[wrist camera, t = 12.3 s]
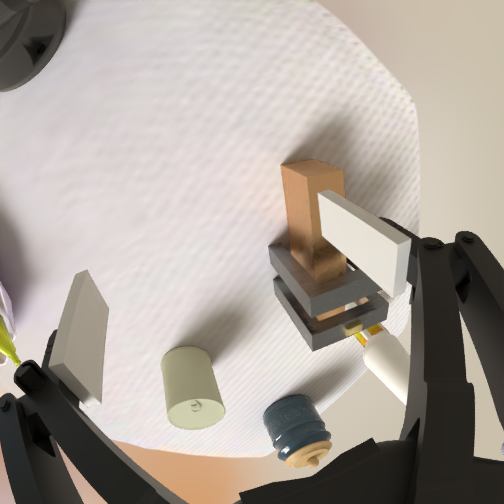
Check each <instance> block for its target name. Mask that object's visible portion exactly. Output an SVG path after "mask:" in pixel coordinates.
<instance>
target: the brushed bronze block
mask: <svg viewBox="0 0 504 504" xmlns="http://www.w3.org/2000/svg"><path fill="white" fill-rule="evenodd" d="M281 173H282V180H283V188H284V196H285V204H286V212H287V220H288V229H289V238H290V247H291V254H292V256H293V257H294V258H295V259H296V260H297V261H298V262H299V263H300V264H301V265H302V266H303V268H304V269H305V270H306V271H307V272H308V273H309V274H310V275H311V276H312V277H313V279H314V280H315V281H316V282H317V283H321V282H324V281H327V280H330V279H333V278H335V277H338V276H341V275H344V274H346V256H345V255H344V254H343V253H342V252H340V251H339V250H338V249H337V248H336V247H335V246H333V245H332V244H331V243H330V242H329V241H328V240H326V239H325V238H324V237H323V236H322V230H321V220H320V210H319V201H318V193H319V192H322V191H325V190H331V191H333V192H335V193H337V194H338V195H340V196H342V197H344V198H345V187H344V170H342V169H340V168H337V167H334V166H331V165H329V164H326V163H323V162H320V161H317V160H314V159H310V160H305V161H299V162H294V163H289V164H284V165H281ZM343 311H345V305H344V306H342V307H339V308H337V309H334V310H332V311H329V312H326V313H324V314H321V315H318V316H316V317H317V319H318V320H319V321H320V320H323V319H326V318H328V317H331V316H333V315H336V314H338V313H341V312H343Z"/></svg>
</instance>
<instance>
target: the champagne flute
mask: <svg viewBox="0 0 504 504" xmlns="http://www.w3.org/2000/svg"><path fill="white" fill-rule="evenodd" d="M353 307H356V304H355V303H354V302H352V303H349V304H347V305H345V311H346V310H348V309H351V308H353ZM360 333H361V334H362V335H363V336H364V338H365V339H366V340H367V341H366V344H365V348H364V352H363V359H364V363H365V364H366V366H367V367H368V368H369V369H370V370H371V371H372V372H373V373H375V375H376V376H377V377H378V378H379V379H380V380H381V381H382V382H384V384H385V385H386V386H387V387H388V388H389V389H390V390H391V391H392V392H393V393H394V394H395V395H396V396H397V397H398V398H399V399H400V400H401V401H402V402H403V403H404V404H405V405H406V404H407V395H408V384H409V372H410V355H409V354H408V353H407V351H406V350H405V349H404V347H403V346H402V345H401V343H400V342H399V341H398V339H397V338H396V337H395V336H394V335H392V334H385V333H382V334H377V335H373V336H372V335H371V334H370V333H369V332H368V331H367V330H366V329H365V330H363V331H361V332H360Z"/></svg>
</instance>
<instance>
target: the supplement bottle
mask: <svg viewBox="0 0 504 504" xmlns="http://www.w3.org/2000/svg"><path fill="white" fill-rule="evenodd" d="M366 330H367V331H368V332H369V333H370V334H371V335H372V336H373V335H377V334H382V333H385V334H390V333H389V332H388V331H387V329H386V328H385V327H384V326H383V325H382V324H381V323H378V324H376V325H374V326H372V327H369V328H367V329H366ZM354 336H355V337H356V338H357V340H358V341H359V342H360V343H361V344H362V345H363V347H364V348H365V344H366V341H367V340H366V339H365V338H364V336H363V335H362V334H361V333H360V332H358V333H356V334H354Z"/></svg>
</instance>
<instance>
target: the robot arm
mask: <svg viewBox="0 0 504 504" xmlns="http://www.w3.org/2000/svg"><path fill="white" fill-rule="evenodd" d="M65 23H66V13H65V8H64V5H63V3H62V1H61V0H0V92H6V91H10V90H14V89H16V88H18V87H20V86H22V85H24V84H25V83H27V82H28V81H30V80H31V79H32V78H34V77H35V76H36V75H37V74H38V73H39V72H40V71H41V70H42V69H43V68H44V67H45V66H46V64H47V63H48V62H49V60H50V59H51V58H52V56H53V55H54V53H55V51H56V49H57V48H58V46H59V43H60V41H61V39H62V36H63V33H64V29H65ZM318 201H319V210H320V220H321V230H322V236H323V237H324V238H325V239H326V240H328V241H329V242H330V243H331V244H332V245H333V246H335V247H336V248H337V249H338V250H339V251H340V252H342V253H343V254H344V255H345V256H346V257H347V258H348V259H350V260H351V261H352V262H353V263H354V264H355V265H356V266H358V267H359V268H360V269H361V270H362V271H363V272H364V273H365V274H366V275H368V276H369V277H370V278H371V279H372V280H373V281H374V282H375V283H376V284H378V285H379V286H380V287H381V288H382V289H383V290H384V291H385V292H386V293H387V294H388V295H389V296H391V297H392V298H394V297H396V296H398V295H400V294H402V293H404V292H405V289H406V282H407V281H408V282H409V283H410V284H411V285H412V289H411V295H410V301H409V304H411V309H412V310H411V315H412V317H411V355H410V372H409V384H408V395H407V404H406V412H405V419H404V424H403V428H402V431H401V435H400V438H399V440H393V441H384V442H378V443H375V441H374V440H373V438H370V439H368V440H367V441H365V442H363V443H361V444H360V445H357V446H356V447H354V448H352V449H350V450H348V451H346V452H344V453H342V454H340V455H339V456H338V457H337V458H336V459H334V460H333V461H332V462H330V463H329V464H328V465H327V466H325V467H324V468H323V469H321V470H320V471H319V472H317V473H316V474H314V475H313V476H311V477H306V478H300V479H294V480H287V481H279V482H272V483H269V484H266V485H263V486H260V487H257V488H254V489H251V490H247V491H244V492H241V493H239V495H240V498H241V500H239V501H237V502H235V503H234V504H504V461H498V460H492V459H486V458H480V457H475V456H474V438H475V394H474V386H473V384H472V383H468V382H467V379H466V367H465V354H464V344H463V335H462V327H461V320H460V313H461V315H462V317H463V320H464V322H465V324H466V327H467V329H468V331H469V333H470V336H471V339H472V341H473V344H474V346H475V349H476V351H477V354H478V356H479V359H480V362H481V365H482V367H483V370H484V373H485V376H486V379H487V382H488V385H489V388H490V391H491V395H492V398H493V401H494V405H495V408H496V411H497V414H498V418H499V421H500V423H501V425H502V427H503V430H504V269H503V268H502V267H501V265H500V264H499V262H498V261H497V260H496V259H495V257H494V256H493V254H492V253H491V252H490V250H489V249H488V248H487V246H486V245H485V244H484V243H483V241H482V240H481V239H480V238H479V237H478V236H477V235H476V234H474V233H472V232H469V231H461V232H458V233H457V234H456V236H455V242H453V243H448V244H444V243H443V242H442V241H441V240H439V239H436V238H431V237H426V238H422V239H421V238H419V237H418V236H416V235H414V234H413V233H411V232H410V231H408V230H406V229H405V228H403V227H402V226H400V225H398V224H397V223H395V222H393V221H392V220H390V219H386V218H383V217H380V218H377V217H376V216H374V215H373V214H371V213H369V212H368V211H366V210H364V209H363V208H361V207H359V206H357V205H356V204H354V203H352V202H351V201H349V200H347V199H345V198H344V197H342V196H340V195H338V194H337V193H335V192H333V191H331V190H325V191H322V192H319V193H318ZM459 311H460V313H459ZM108 314H109V308H108V306H107V304H106V303H105V301H104V299H103V298H102V296H101V294H100V292H99V290H98V289H97V287H96V285H95V283H94V281H93V280H92V278H91V276H90V274H89V272H88V270H85V271H82V272H80V273H77V274H76V275H75V277H74V280H73V283H72V286H71V289H70V292H69V295H68V298H67V301H66V304H65V307H64V310H63V313H62V317H61V320H60V323H59V327H58V329H56V330H54V331H53V333H52V334H51V336H50V338H49V340H48V344H47V348H46V351H45V355H44V359H43V363H42V367H41V368H40V367H39V366H38V364H37V363H36V362H35V361H33V360H27V361H25V362H23V363H22V364H21V365H20V366H19V367H18V368H17V370H16V372H15V374H14V383H15V384H16V385H17V386H18V387H19V388H20V389H21V390H22V391H23V392H24V393H25V395H23V396H22V397H20V398H18V399H17V398H16V397H15V396H14V395H13V394H11V393H6V394H4V395H3V396H2V397H0V443H1V449H2V454H3V458H4V463H5V467H6V471H7V475H8V479H9V482H10V486H11V489H12V493H13V496H14V499H15V502H16V504H84V503H83V501H82V499H81V497H80V495H79V493H78V491H77V489H76V487H75V485H74V483H73V481H72V479H71V477H70V474H69V472H68V470H67V468H66V465H65V463H64V461H63V458H62V456H61V453H60V451H59V448H58V446H57V443H58V445H59V446H60V447H61V449H62V450H63V451H64V453H65V454H66V455H67V457H68V458H69V459H70V461H71V462H72V463H73V464H74V466H75V467H76V468H77V469H78V471H79V472H80V473H81V474H82V475H83V477H84V478H85V479H86V480H87V481H88V482H89V484H90V485H91V486H92V487H93V488H94V489H95V490H96V491H97V493H98V494H99V495H100V496H101V497H102V498H103V499H104V500H105V501H106V502H107V503H108V504H189V503H187V502H186V501H184V500H183V499H181V498H180V497H178V496H177V495H176V494H174V493H173V492H171V491H170V490H169V489H167V488H166V487H165V486H163V485H162V484H161V483H160V482H158V481H157V480H155V479H154V478H153V477H152V476H151V475H149V474H148V473H147V472H146V471H145V470H143V469H142V468H141V467H140V466H138V465H137V464H136V463H135V462H134V461H133V460H132V459H131V458H129V457H128V456H127V455H126V454H125V453H124V452H123V451H122V450H121V449H119V448H118V447H117V446H116V445H115V444H114V443H113V442H112V441H111V440H110V439H109V438H108V437H107V436H106V435H105V434H104V433H103V432H102V431H101V430H100V429H99V428H98V427H97V426H96V425H95V424H94V423H93V422H92V421H91V419H90V418H89V417H88V416H87V415H86V414H85V413H84V412H83V411H82V410H81V409H80V408H79V400H80V401H81V402H82V403H83V404H84V405H85V406H86V407H92V406H97V405H102V381H103V364H104V351H105V340H106V331H107V322H108ZM56 442H57V443H56ZM501 449H502V453H503V455H504V443H503V444H502V448H501Z"/></svg>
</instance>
